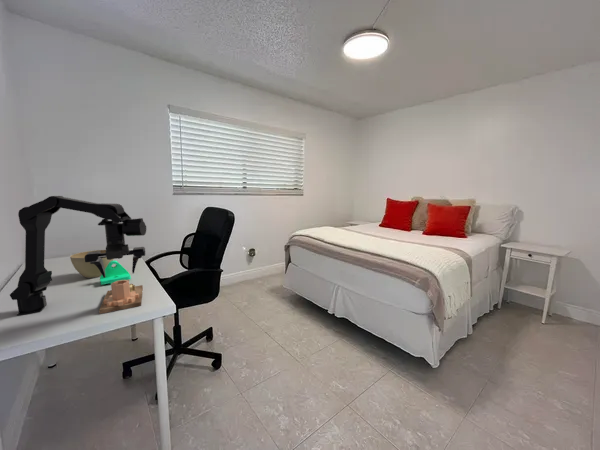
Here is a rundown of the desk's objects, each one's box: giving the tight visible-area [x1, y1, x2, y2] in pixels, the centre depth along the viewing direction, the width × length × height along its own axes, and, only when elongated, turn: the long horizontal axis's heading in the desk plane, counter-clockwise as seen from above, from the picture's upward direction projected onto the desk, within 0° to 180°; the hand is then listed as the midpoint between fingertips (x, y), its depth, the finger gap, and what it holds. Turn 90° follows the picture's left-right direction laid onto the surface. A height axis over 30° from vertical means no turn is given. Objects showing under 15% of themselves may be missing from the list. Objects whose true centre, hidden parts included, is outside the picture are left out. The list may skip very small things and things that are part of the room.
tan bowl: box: [69, 249, 114, 279], centre depth 134 cm, size 18×18×12 cm
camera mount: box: [99, 259, 132, 286], centre depth 124 cm, size 12×8×10 cm, turn 131°
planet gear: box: [103, 279, 139, 307], centre depth 99 cm, size 11×11×8 cm
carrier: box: [98, 283, 144, 315], centre depth 104 cm, size 13×21×6 cm, turn 31°
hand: (119, 275), depth 98 cm, fingers open, 9 cm apart
